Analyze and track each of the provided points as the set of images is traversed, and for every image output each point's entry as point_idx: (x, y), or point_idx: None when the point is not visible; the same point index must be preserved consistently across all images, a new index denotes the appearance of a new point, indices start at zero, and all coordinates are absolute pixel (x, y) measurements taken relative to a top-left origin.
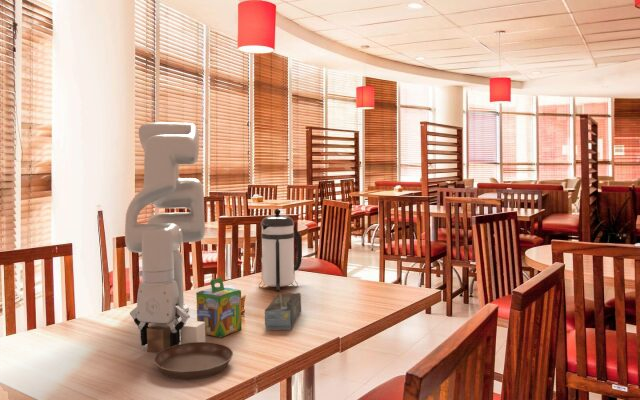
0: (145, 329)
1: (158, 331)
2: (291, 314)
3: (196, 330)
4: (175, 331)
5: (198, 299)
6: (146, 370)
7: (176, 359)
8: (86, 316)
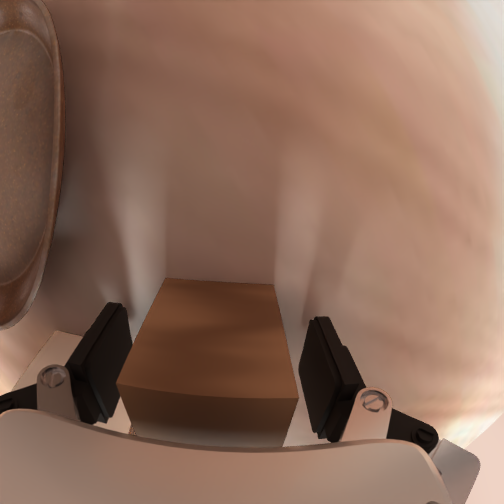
0: (332, 406)
1: (165, 375)
2: None
3: (11, 391)
4: (50, 373)
5: None
6: (126, 29)
7: (34, 185)
8: (496, 419)
